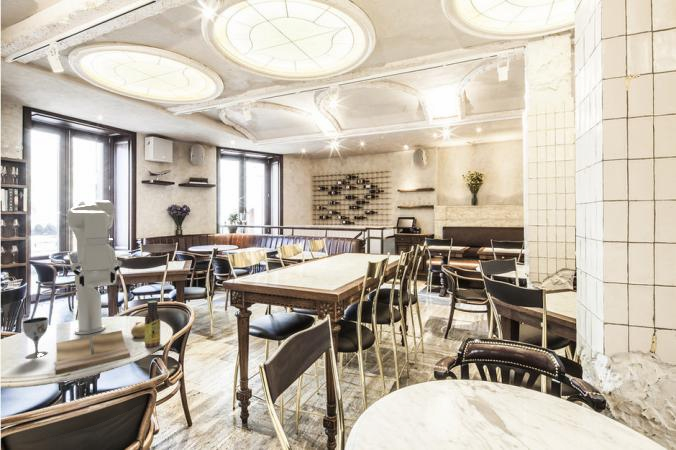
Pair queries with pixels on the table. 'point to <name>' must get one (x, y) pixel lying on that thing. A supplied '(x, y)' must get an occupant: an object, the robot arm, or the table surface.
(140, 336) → the onion
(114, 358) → the walnut board
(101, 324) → the robot arm
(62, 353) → the oak plank
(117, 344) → the oak plank
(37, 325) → the wine glass
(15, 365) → the table surface
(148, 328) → the sauce bottle
